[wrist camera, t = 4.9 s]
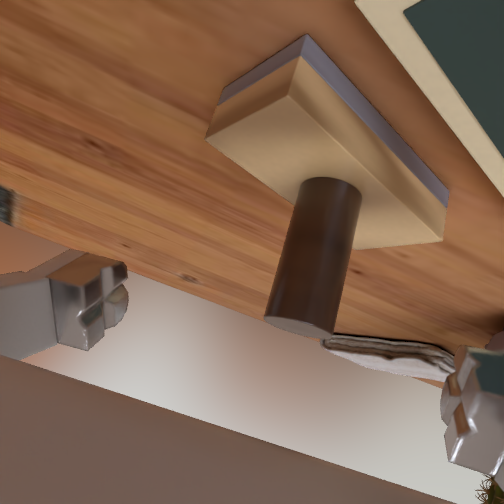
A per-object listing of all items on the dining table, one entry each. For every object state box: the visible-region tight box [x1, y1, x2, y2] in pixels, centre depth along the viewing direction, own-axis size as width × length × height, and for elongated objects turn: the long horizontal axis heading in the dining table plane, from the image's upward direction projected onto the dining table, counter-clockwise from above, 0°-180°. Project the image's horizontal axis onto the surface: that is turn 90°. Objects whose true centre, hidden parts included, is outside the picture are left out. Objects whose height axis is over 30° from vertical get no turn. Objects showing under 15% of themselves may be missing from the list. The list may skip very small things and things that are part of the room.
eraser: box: [204, 34, 449, 339], centre depth 18 cm, size 11×5×9 cm, turn 49°
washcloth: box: [320, 335, 455, 382], centre depth 58 cm, size 12×18×3 cm, turn 138°
